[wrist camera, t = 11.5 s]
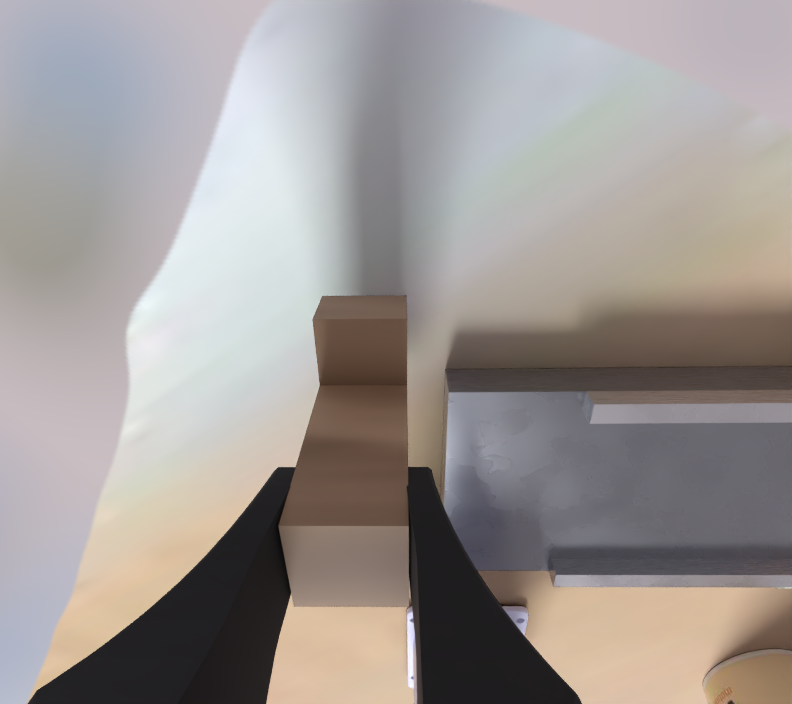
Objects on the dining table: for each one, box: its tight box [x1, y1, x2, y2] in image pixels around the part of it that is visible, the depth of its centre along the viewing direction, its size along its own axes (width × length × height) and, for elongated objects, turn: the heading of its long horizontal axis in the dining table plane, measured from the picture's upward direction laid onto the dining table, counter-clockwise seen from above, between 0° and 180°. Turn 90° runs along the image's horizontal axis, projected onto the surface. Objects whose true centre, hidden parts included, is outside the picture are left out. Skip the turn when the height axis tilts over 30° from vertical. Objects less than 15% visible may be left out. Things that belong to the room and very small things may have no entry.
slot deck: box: [441, 366, 792, 587], centre depth 23 cm, size 12×20×3 cm, turn 91°
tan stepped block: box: [278, 295, 409, 607], centre depth 15 cm, size 8×3×8 cm, turn 1°
